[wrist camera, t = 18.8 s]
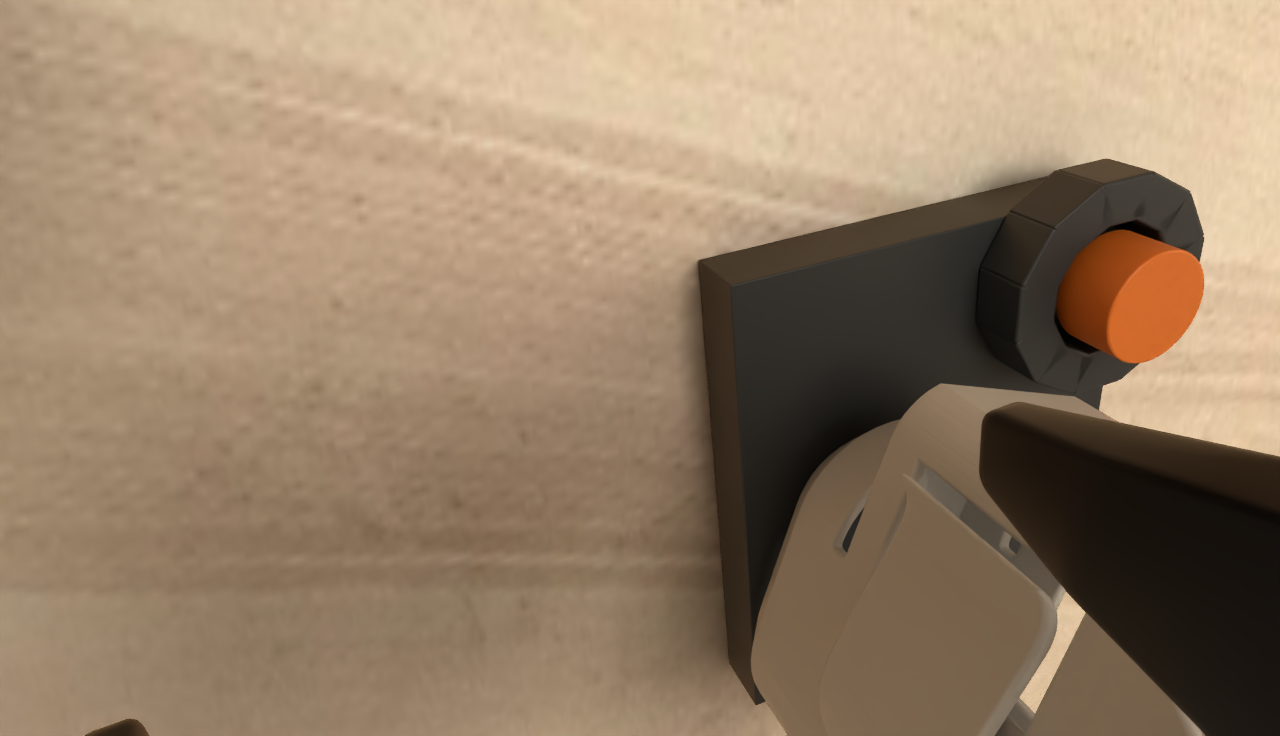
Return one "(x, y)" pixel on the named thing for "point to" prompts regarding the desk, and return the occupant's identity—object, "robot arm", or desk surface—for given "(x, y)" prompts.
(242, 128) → the desk surface
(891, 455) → the beige plastic holder
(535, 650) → the desk surface
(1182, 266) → the button
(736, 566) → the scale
